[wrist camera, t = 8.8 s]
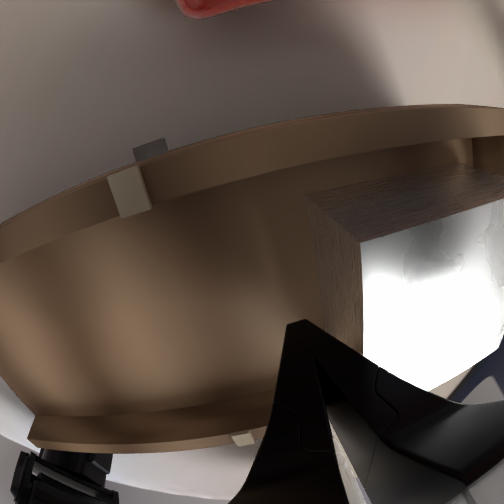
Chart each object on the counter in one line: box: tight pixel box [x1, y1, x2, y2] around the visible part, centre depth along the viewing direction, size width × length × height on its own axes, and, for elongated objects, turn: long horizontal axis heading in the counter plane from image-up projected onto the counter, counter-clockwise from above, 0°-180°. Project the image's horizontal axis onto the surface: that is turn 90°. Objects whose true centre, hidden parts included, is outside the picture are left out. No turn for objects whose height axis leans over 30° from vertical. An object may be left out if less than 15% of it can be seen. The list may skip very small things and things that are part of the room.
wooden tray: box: [0, 104, 504, 454], centre depth 11 cm, size 27×13×4 cm, turn 103°
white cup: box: [333, 437, 366, 504], centre depth 22 cm, size 8×8×10 cm
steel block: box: [304, 162, 504, 391], centre depth 9 cm, size 7×7×4 cm
